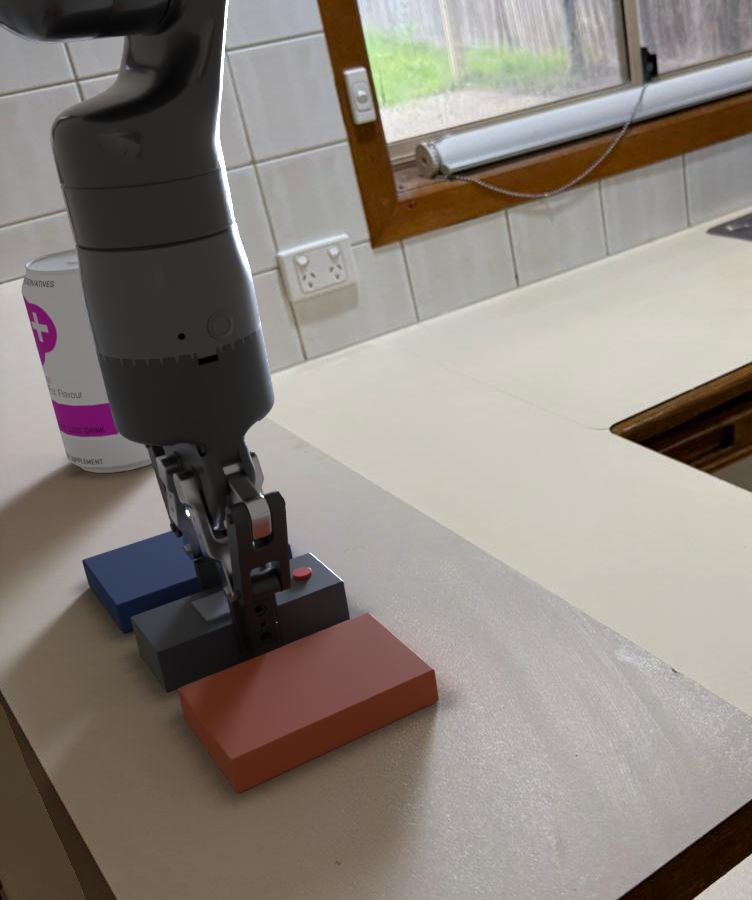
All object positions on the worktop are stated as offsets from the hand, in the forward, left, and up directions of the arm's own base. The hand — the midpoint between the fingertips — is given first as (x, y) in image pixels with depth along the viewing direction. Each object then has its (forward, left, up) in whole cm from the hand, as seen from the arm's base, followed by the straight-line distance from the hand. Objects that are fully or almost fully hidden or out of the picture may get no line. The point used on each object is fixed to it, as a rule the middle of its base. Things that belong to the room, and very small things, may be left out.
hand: (245, 632), depth 61 cm
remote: (0, 0, 0) cm, 0 cm away
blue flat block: (-7, +5, 0) cm, 9 cm away
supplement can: (-23, +22, 0) cm, 31 cm away
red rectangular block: (+7, -5, 0) cm, 9 cm away
